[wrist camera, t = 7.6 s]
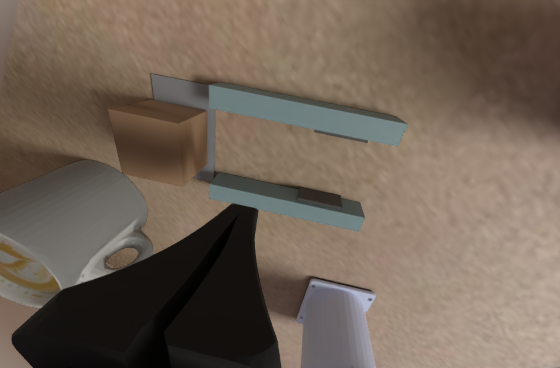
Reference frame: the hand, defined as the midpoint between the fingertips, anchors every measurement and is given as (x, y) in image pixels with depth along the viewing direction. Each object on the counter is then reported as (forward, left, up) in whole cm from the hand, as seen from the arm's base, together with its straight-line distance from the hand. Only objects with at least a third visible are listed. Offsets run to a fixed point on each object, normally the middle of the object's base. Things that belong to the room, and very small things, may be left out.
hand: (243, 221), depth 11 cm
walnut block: (0, +9, -10) cm, 13 cm away
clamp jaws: (0, -2, -10) cm, 10 cm away
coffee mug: (-11, +17, -10) cm, 23 cm away
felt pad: (0, +8, -10) cm, 13 cm away
